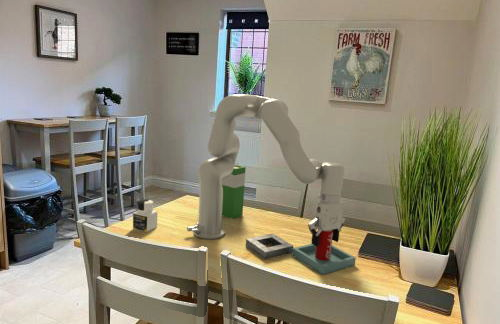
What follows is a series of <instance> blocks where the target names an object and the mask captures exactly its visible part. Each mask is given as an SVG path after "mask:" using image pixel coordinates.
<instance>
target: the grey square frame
mask: <svg viewBox="0 0 500 324" xmlns="http://www.w3.org/2000/svg"><path fill="white" fill-rule="evenodd" d="M268 245H271V246H268ZM245 246H246V247H247V248H248V249H249V250H250V251H252V252H253V253H255V254H256V255H257V256H259V257H260V258H261V259H263V260H264V261H266V260H271V259H273V258H274V259H275V258H280V257H283V256H287V255H292V253H293V248H294V245H293V244H291V243H289V242H288V241H287V240H285V239H283V238H281V237H280V236H278V235H276V234H275V233H269V234H264V235H259V236H253V237H248V238H245ZM267 246H268V247H267Z"/></svg>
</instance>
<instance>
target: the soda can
mask: <svg viewBox="0 0 500 324" xmlns="http://www.w3.org/2000/svg"><path fill="white" fill-rule="evenodd" d="M318 236H320V239H319V246H318V247H316V251H315V257H316V259H317V260H319V261H328V260H329V259H330V256H331V246H332V245H333V240H332V237H333V230H328V231H321V232H320V234H319V235H318Z"/></svg>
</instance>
